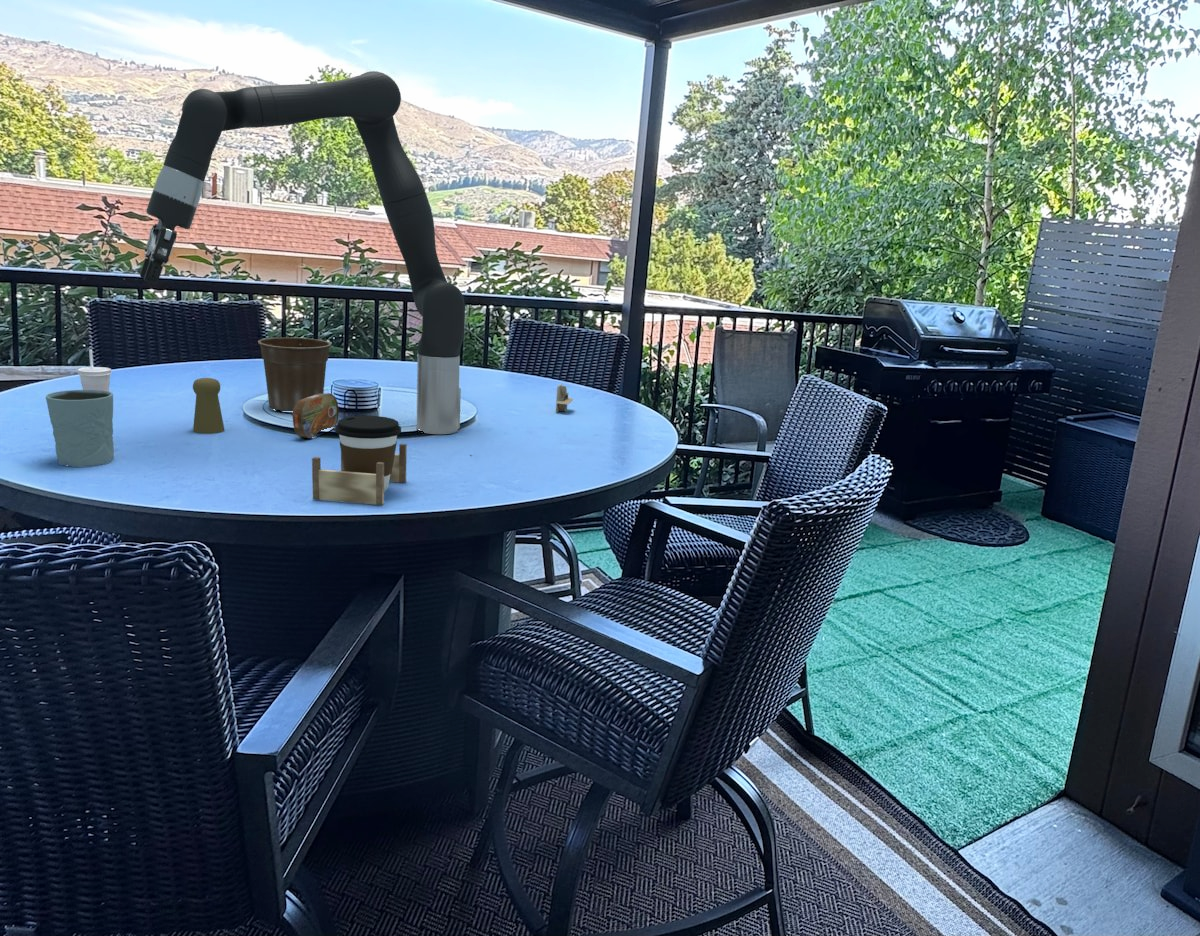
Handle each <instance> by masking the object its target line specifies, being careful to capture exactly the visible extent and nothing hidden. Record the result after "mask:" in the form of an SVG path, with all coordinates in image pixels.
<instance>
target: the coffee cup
mask: <svg viewBox="0 0 1200 936" xmlns="http://www.w3.org/2000/svg"><path fill="white" fill-rule="evenodd" d="M334 433H336V434H337V435H338V436H339V447H340V455H341V454H342V460H343V466H344V471H347V472H359V473H371V474H376V463H378V462H383V463H384V491H385V492H387V490H388V488H389V486H390V482H389V480H390V474H391V473H392V468H393V462H394V456H395V454H396V451H397V449H396V448H397V437H398V435H400V434H402V426H400V425H399V421H398V420H396V419H394V418H391V417H387V416H377V415H355V416H352V415H351V416H348V417H343V418H340V419H338V421H337V424H336V427H335V428H334Z"/></svg>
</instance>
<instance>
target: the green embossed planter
mask: <svg viewBox="0 0 1200 936" xmlns="http://www.w3.org/2000/svg"><path fill="white" fill-rule="evenodd" d="M45 399H46V404H47V409H48V415H49V419H50V421H49V422H50V424H51V426H52V427H51V428H52V434H53V435H52V436H53V438H54V443H55V453H56V459H57V462H59V463H60V464H59V463H58V464H59V465H61V464H62V465H61V466H63V465H68V466H92V467H94V466H93V465H99V466H102V465H101V464H104V465H106V464H105V463H107V464H109V463H108V462H110V463H111V461H112V460H113V461H114V458H115V447H114V445H115V444H114V427H113V425H114V424H113V418H114V394H113V392H111V391H109V392H107V391H99V390H83V389H75V390H74V389H73V390H61V391H55V392H50V393H47V394H46V395H45ZM113 461H112V462H113ZM68 466H67V467H68Z"/></svg>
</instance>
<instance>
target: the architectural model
mask: <svg viewBox="0 0 1200 936" xmlns="http://www.w3.org/2000/svg"><path fill="white" fill-rule="evenodd" d="M573 401H574V398H569V392H568V391H567V385H563V383H560V384H558V385H557V387H556V401H555V414H558V413H559V411H560V412H566V411H568V405H569V404H571V403H572V402H573Z"/></svg>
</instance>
